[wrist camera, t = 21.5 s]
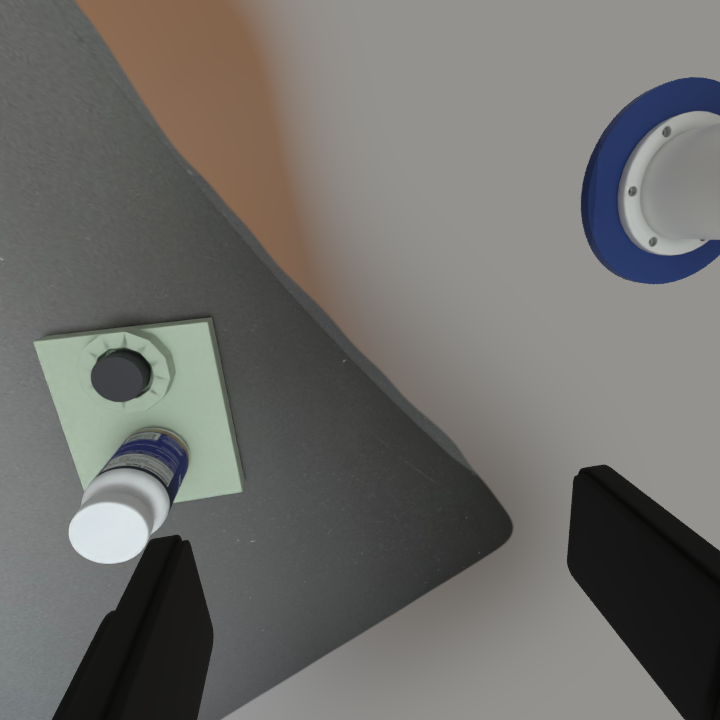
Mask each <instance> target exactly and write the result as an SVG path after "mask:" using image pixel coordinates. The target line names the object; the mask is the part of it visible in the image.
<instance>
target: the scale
mask: <svg viewBox="0 0 720 720" xmlns="http://www.w3.org/2000/svg"><path fill="white" fill-rule="evenodd" d="M33 343H34V346H35V349H36V352H37V355H38V358H39V360H40V363H41V366H42V369H43V372H44V375H45V378H46V381H47V384H48V387H49V390H50V393H51V396H52V398H53V401H54V404H55V407H56V410H57V413H58V416H59V419H60V422H61V425H62V428H63V431H64V434H65V437H66V439H67V442H68V445H69V448H70V451H71V454H72V457H73V460H74V463H75V466H76V469H77V472H78V475H79V477H80V480H81V483H82V486H83V489H84V492H85V490H86V489H87V487H88V485H89V484H90V482H91V481H92V480H93V479H94V478H95V476H96V475H97V474H98V473H99V472H100V470H101V469H102V468H103V467H104V465H105V464H106V463H107V461H108V460H109V459H110V458H111V456H112V455H113V454H114V452H115V451H116V450H117V449H118V447H119V446H120V445H121V444H122V443H123V441H124V440H125V439H126V438H127V437H128V436H130V435H131V434H132V433H134V432H136V431H138V430H141V429H145V428H162V429H166V430H169V431H171V432H173V433H175V434H176V435H178V436H179V437H180V438H181V439H182V440H183V441H184V442H185V444H186V445H187V447H188V450H189V453H190V464H189V468H188V470H187V473H186V475H185V477H184V479H183V481H182V484H181V486H180V488H179V490H178V493H177V495H176V497H175V499H174V502H173V503H176V502H182V501H188V500H195V499H201V498H207V497H213V496H220V495H226V494H232V493H238V492H242V491H243V486H244V481H245V479H244V474H243V469H242V464H241V459H240V454H239V449H238V444H237V439H236V434H235V430H234V425H233V420H232V415H231V410H230V405H229V400H228V395H227V390H226V385H225V380H224V375H223V370H222V365H221V360H220V355H219V350H218V345H217V340H216V335H215V330H214V325H213V320H212V318H211V317H209V318H200V319H192V320H183V321H174V322H165V323H156V324H147V325H138V326H129V327H121V328H112V329H103V330H94V331H85V332H76V333H67V334H58V335H49V336H45V337H43V338H41V339H38V340H36V341H34V342H33ZM119 350H127V351H131V352H134V353H136V354H138V355H140V356H141V357H142V358H143V359H144V360H145V361H146V362H147V364H148V366H149V368H150V373H151V376H150V381H149V383H148V385H147V386H146V387H145V388H144V389H143V390H142V392H141V393H140V394H139V395H138V396H136V397H135V398H134V399H132V400H129V401H126V402H113V401H110V400H107V399H105V398H103V397H102V396H100V395H99V394H98V393H97V392H96V390H95V389H94V387H93V385H92V383H91V371H92V368H93V367H94V365H95V364H96V363H97V362H98V361H99V360H101V359H102V358H104V357H105V356H107V355H109V354H110V353H112V352H115V351H119Z"/></svg>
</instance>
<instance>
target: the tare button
mask: <svg viewBox="0 0 720 720" xmlns="http://www.w3.org/2000/svg"><path fill="white" fill-rule="evenodd" d="M150 376H151V373H150V368H149V366H148V364H147V362H146V361H145V360H144V359H143V358H142V357H141V356H140V355H138V354H136V353H134V352H131V351H127V350H119V351H115V352H112V353H110V354H109V355H107V356H105V357H104V358H102V359H101V360H99V361H98V362H97V363H96V364H95V365H94V367H93V368H92V371H91V383H92V385H93V387H94V389H95V390H96V392H97V393H98V394H99V395H100V396H102V397H103V398H105V399H107V400H110V401H113V402H126V401H129V400H132V399H134V398H135V397H136V396H138V395H139V394H140V393H141V392H142V390H143V389H144V388H145V387H146V386H147V385H148V383H149V381H150Z"/></svg>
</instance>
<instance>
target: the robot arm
mask: <svg viewBox="0 0 720 720" xmlns="http://www.w3.org/2000/svg"><path fill="white" fill-rule="evenodd" d="M617 198H618V213H619V218H620V222H621V224H622V227H623V229H624V231H625V233H626V235H627V236H628V237H629V239H630V240H631V241H632V242H633V243H634V244H635V245H636V246H637V247H638V248H640V249H642V250H644V251H646V252H648V253H652V254H656V255H668V256H671V255H680V254H684V253H687V252H690V251H693V250H695V249H697V248H698V247H700V246H702V245H704V244H705V243H706V242H708V241H709V240H720V116H719V115H717V114H713V113H710V112H706V111H693V112H688V113H683V114H680V115H677V116H674V117H671V118H669V119H667V120H665V121H663V122H661V123H659V124H658V125H656V126H655V127H654V128H653V129H651V130H650V131H649V132H648V133H647V134H646V135H645V136H644V137H643V138H642V139H641V140H640V141H639V142H638V144H637V145H636V147H635V148H634V150H633V151H632V153H631V154H630V156H629V158H628V160H627V162H626V164H625V167H624V169H623V172H622V175H621V179H620V182H619V189H618V196H617ZM568 543H569V544H568V555H567V564H568V568H569V571H570V573H571V575H572V576H573V578H574V579H575V580H576V582H577V583H578V584H579V586H580V587H581V588H582V589H583V591H584V592H585V593H586V594H587V596H588V597H589V598H590V600H591V601H592V602H593V603H594V605H595V606H596V607H597V608H598V610H599V611H600V612H601V614H602V615H603V616H604V617H605V619H606V620H607V621H608V622H609V624H610V625H611V626H612V628H613V629H614V630H615V631H616V633H617V634H618V635H619V637H620V638H621V639H622V640H623V642H624V643H625V644H626V645H627V647H628V648H629V649H630V651H631V652H632V653H633V654H634V656H635V657H636V658H637V659H638V661H639V662H640V663H641V665H642V666H643V667H644V668H645V670H646V671H647V672H648V674H649V675H650V676H651V677H652V679H653V680H654V681H655V682H656V684H657V685H658V686H659V688H660V689H661V690H662V691H663V692H664V694H665V695H666V696H667V698H668V699H669V700H670V701H671V703H672V704H673V705H674V707H675V708H676V709H677V710H678V712H679V713H680V714H681V716H682V717H683V718H684V719H685V720H720V551H719V550H718V549H716V548H715V547H714V546H712V545H711V544H710V543H709V542H707V541H706V540H705V539H703V538H702V537H701V536H699V535H698V534H697V533H695V532H694V531H693V530H692V529H690V528H689V527H688V526H686V525H685V524H684V523H682V522H681V521H680V520H679V519H677V518H676V517H675V516H673V515H672V514H671V513H669V512H668V511H667V510H665V509H664V508H663V507H662V506H660V505H659V504H658V503H656V502H655V501H654V500H652V499H651V498H650V497H648V496H647V495H646V494H644V493H643V492H642V491H641V490H639V489H638V488H637V487H635V486H634V485H633V484H632V483H630V482H629V481H628V480H626V479H625V478H624V477H622V476H621V475H620V474H618V473H617V472H616V471H615V470H613V469H612V468H611V467H609V466H607V465H599V466H592V467H586V468H582V469H580V471H579V473H578V475H577V476H575V477H574V480H573V491H572V504H571V518H570V529H569V542H568ZM212 647H213V627H212V623H211V619H210V615H209V612H208V608H207V604H206V600H205V597H204V593H203V589H202V586H201V582H200V578H199V574H198V571H197V567H196V563H195V559H194V556H193V552H192V548H191V545H190V542H189V541H188V540H184V541H182V539H181V537H180V536H179V535H173V536H167V537H161V538H155V539H152V540H150V541H149V543H148V545H147V547H146V549H145V551H144V553H143V555H142V557H141V559H140V561H139V563H138V565H137V567H136V569H135V571H134V573H133V575H132V577H131V580H130V582H129V584H128V586H127V588H126V590H125V592H124V594H123V596H122V598H121V600H120V602H119V604H118V606H117V608H116V610H115V611H111V612H110V613H108V614H107V615H106V616H105V618H104V619H103V621H102V622H101V624H100V626H99V628H98V630H97V632H96V634H95V636H94V638H93V640H92V642H91V644H90V646H89V648H88V650H87V652H86V654H85V656H84V658H83V660H82V662H81V664H80V665H79V667H78V669H77V671H76V673H75V675H74V677H73V679H72V681H71V683H70V685H69V687H68V689H67V691H66V693H65V695H64V697H63V699H62V701H61V703H60V705H59V707H58V709H57V711H56V713H55V715H54V717H53V718H52V720H197V717H198V713H199V708H200V703H201V699H202V694H203V689H204V685H205V680H206V675H207V670H208V666H209V661H210V656H211V652H212Z"/></svg>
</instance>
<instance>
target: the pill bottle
mask: <svg viewBox="0 0 720 720" xmlns="http://www.w3.org/2000/svg"><path fill="white" fill-rule="evenodd" d="M189 464H190V453H189V450H188V447H187V445H186V444H185V442H184V441H183V440H182V439H181V438H180V437H179V436H178V435H176V434H175V433H173V432H171V431H169V430H166V429H162V428H145V429H141V430H138V431H136V432H134V433H132V434H131V435H130V436H128V437H127V438H126V439H125V440H124V441H123V443H122V444H121V445H120V446H119V447H118V449H117V450H116V451H115V452H114V454H113V455H112V456H111V458H110V459H109V460H108V461H107V463H106V464H105V465H104V467H103V468H102V469H101V470H100V472H99V473H98V474H97V475H96V476H95V478H94V479H93V480H92V481H91V482H90V484H89V485H88V487H87V489H86V490H85V492H84V495H83V498H82V503H81V507H80V508H79V510H78V511H77V513H76V514H75V516H74V517H73V519H72V521H71V523H70V526H69V539H70V542H71V544H72V546H73V547H74V549H75V550H76V551H77V552H78V553H79V554H81V555H82V556H83V557H85V558H87V559H89V560H91V561H94V562H98V563H105V564H114V563H120V562H124V561H127V560H129V559H131V558H133V557H135V556H136V555H137V554H138V553H140V552H141V551H142V549H143V548H144V547H145V545H146V543H147V541H148V539H149V537H150V535H151V534H152V533H153V532H155V531H156V530H157V529H158V528H159V527H160V526H161V525H162V524H163V522H164V521H165V519H166V517H167V515H168V513H169V511H170V509H171V506H172V504H173V502H174V499H175V497H176V495H177V493H178V490H179V488H180V486H181V484H182V481H183V479H184V477H185V475H186V473H187V470H188V468H189Z"/></svg>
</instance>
